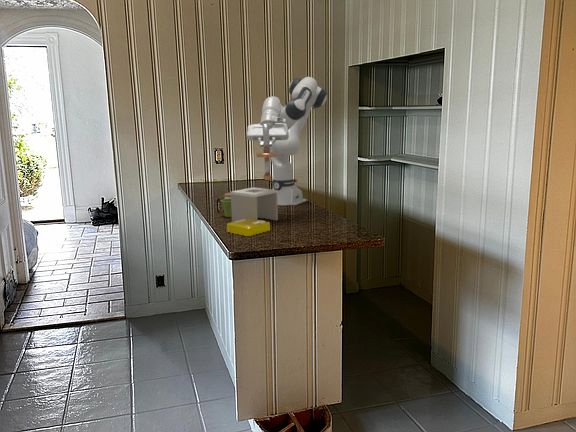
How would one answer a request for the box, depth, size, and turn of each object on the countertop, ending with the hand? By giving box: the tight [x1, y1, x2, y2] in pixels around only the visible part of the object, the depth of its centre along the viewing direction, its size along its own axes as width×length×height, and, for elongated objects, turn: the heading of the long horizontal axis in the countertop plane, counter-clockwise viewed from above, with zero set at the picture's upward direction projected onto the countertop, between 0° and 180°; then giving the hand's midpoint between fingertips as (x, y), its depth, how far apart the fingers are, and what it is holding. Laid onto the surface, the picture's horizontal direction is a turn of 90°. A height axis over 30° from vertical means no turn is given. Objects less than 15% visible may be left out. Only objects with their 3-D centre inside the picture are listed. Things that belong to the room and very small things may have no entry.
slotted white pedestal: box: [230, 187, 279, 222], centre depth 255 cm, size 16×16×15 cm
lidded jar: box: [223, 191, 232, 199], centre depth 292 cm, size 11×11×9 cm
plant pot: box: [220, 198, 232, 218], centre depth 268 cm, size 9×9×9 cm
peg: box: [255, 124, 277, 181], centre depth 247 cm, size 10×10×26 cm
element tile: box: [226, 218, 271, 237], centre depth 236 cm, size 15×15×5 cm
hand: (266, 145), depth 246 cm, fingers closed on peg, 3 cm apart
